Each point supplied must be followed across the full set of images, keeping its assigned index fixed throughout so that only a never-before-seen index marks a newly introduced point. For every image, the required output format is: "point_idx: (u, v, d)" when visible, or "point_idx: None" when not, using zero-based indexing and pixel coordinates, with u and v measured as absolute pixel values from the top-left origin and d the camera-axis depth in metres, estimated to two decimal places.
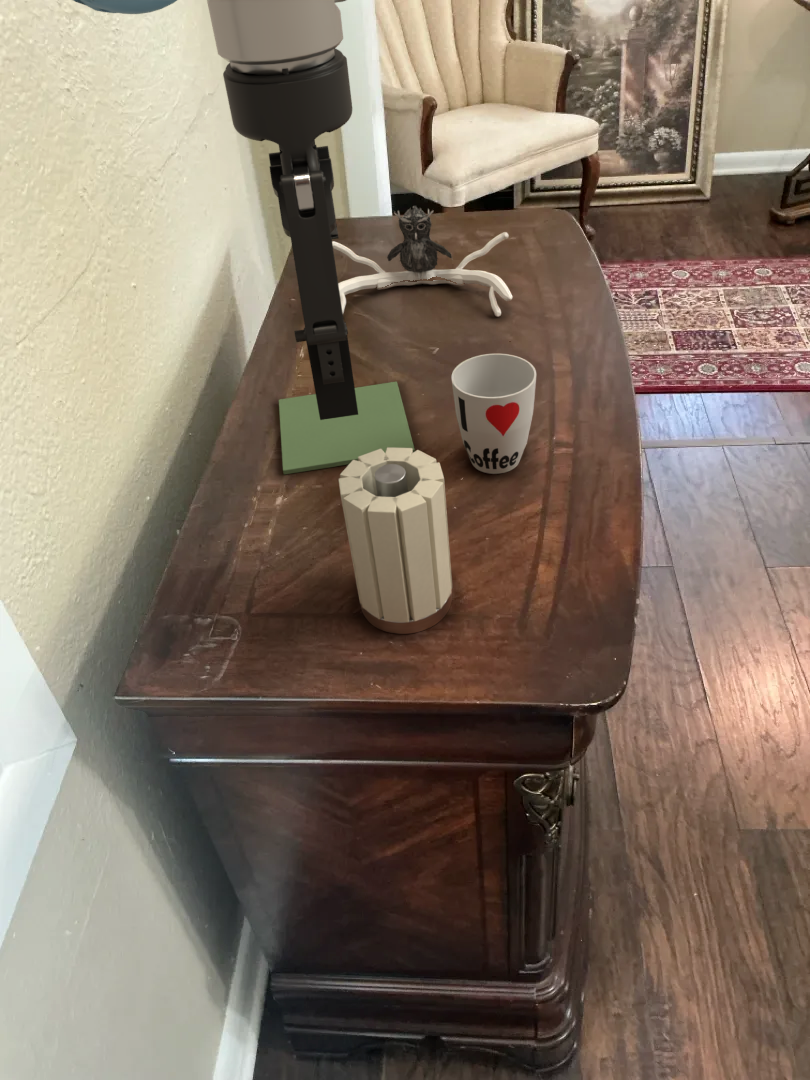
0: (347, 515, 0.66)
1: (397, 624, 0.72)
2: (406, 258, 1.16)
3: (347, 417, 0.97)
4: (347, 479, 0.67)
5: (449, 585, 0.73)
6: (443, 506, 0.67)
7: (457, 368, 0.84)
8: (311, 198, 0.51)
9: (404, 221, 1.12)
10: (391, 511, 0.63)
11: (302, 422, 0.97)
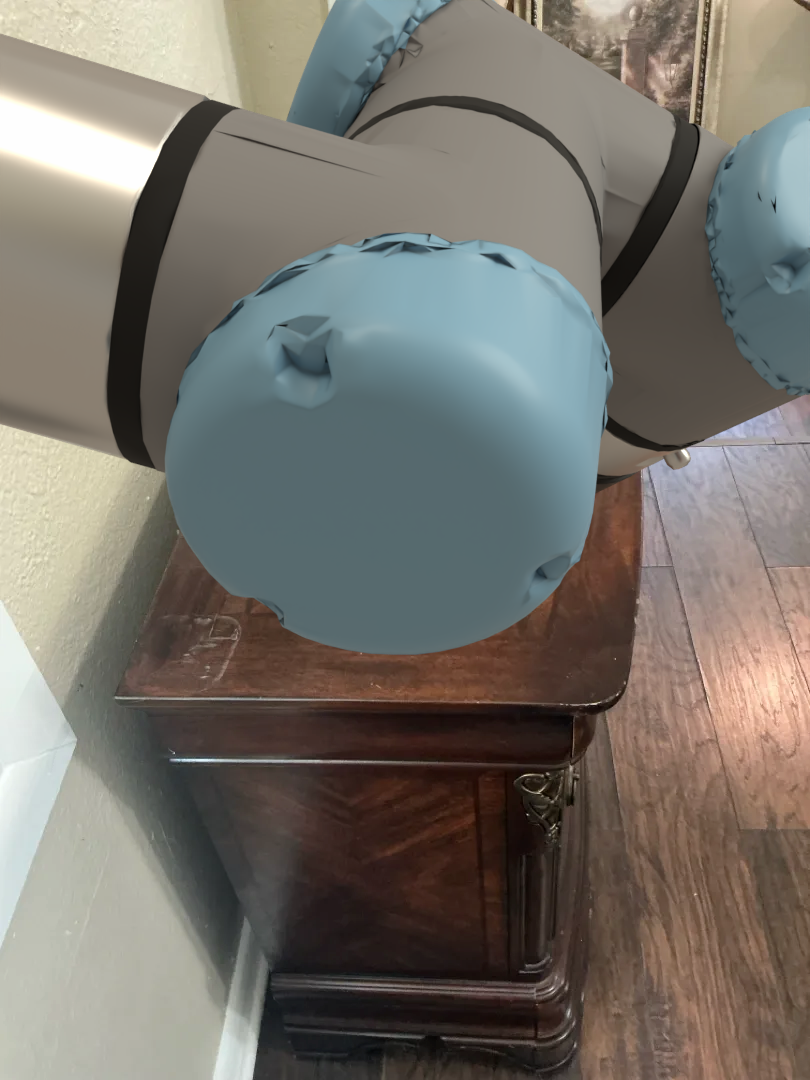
0: None
1: None
2: None
3: None
4: None
5: None
6: None
7: None
8: None
9: None
10: None
11: None
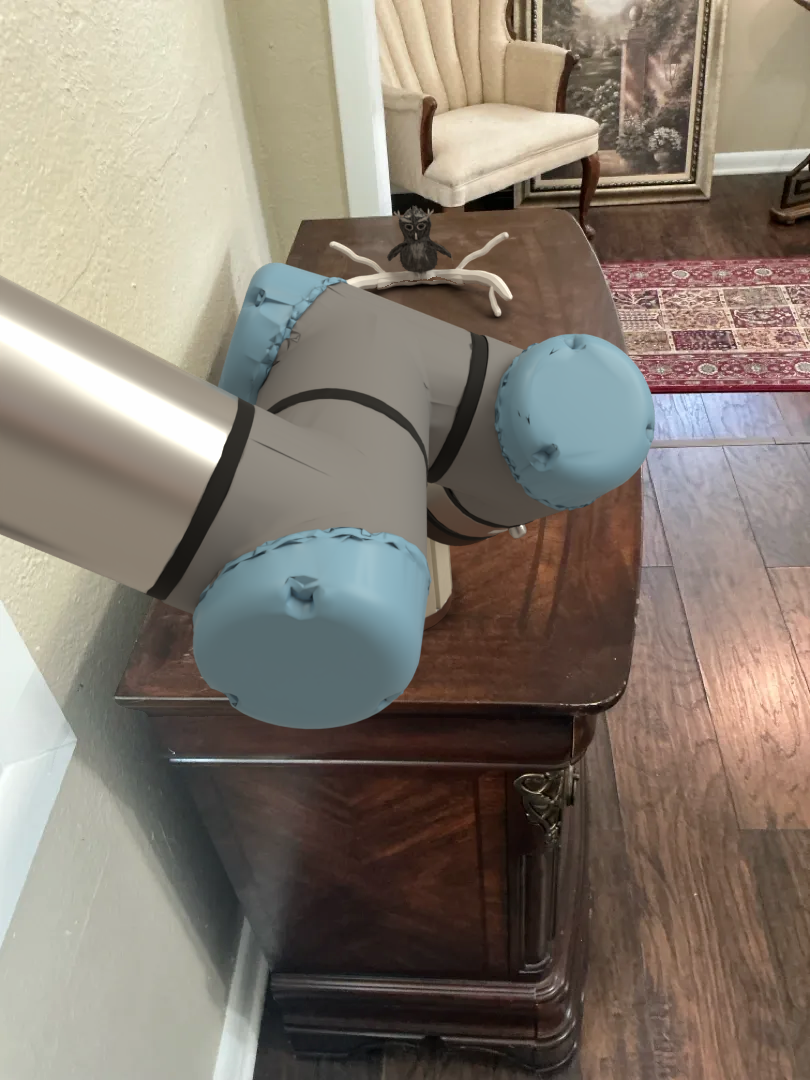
0: None
1: None
2: (406, 258, 1.16)
3: None
4: None
5: (449, 585, 0.73)
6: None
7: None
8: None
9: (404, 221, 1.12)
10: None
11: None
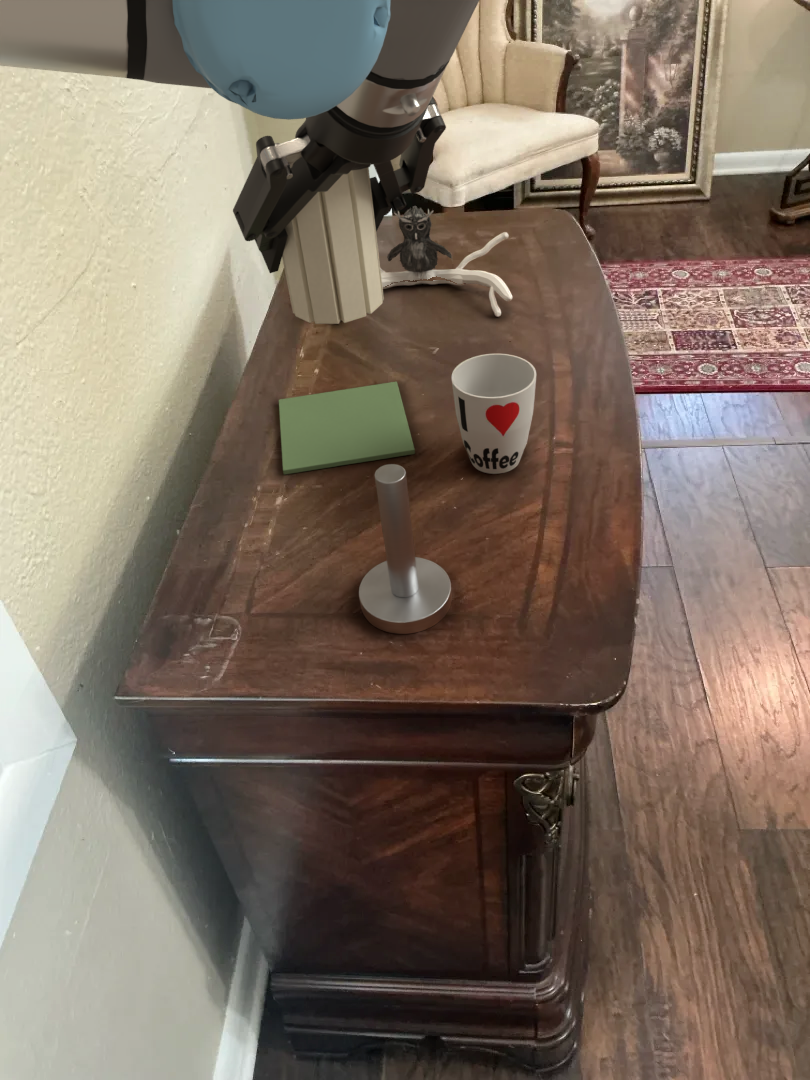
0: None
1: (397, 624, 0.72)
2: (406, 258, 1.16)
3: (347, 417, 0.97)
4: None
5: (379, 292, 0.74)
6: (367, 190, 0.68)
7: (457, 368, 0.84)
8: (265, 170, 0.59)
9: (404, 221, 1.12)
10: None
11: (302, 422, 0.97)
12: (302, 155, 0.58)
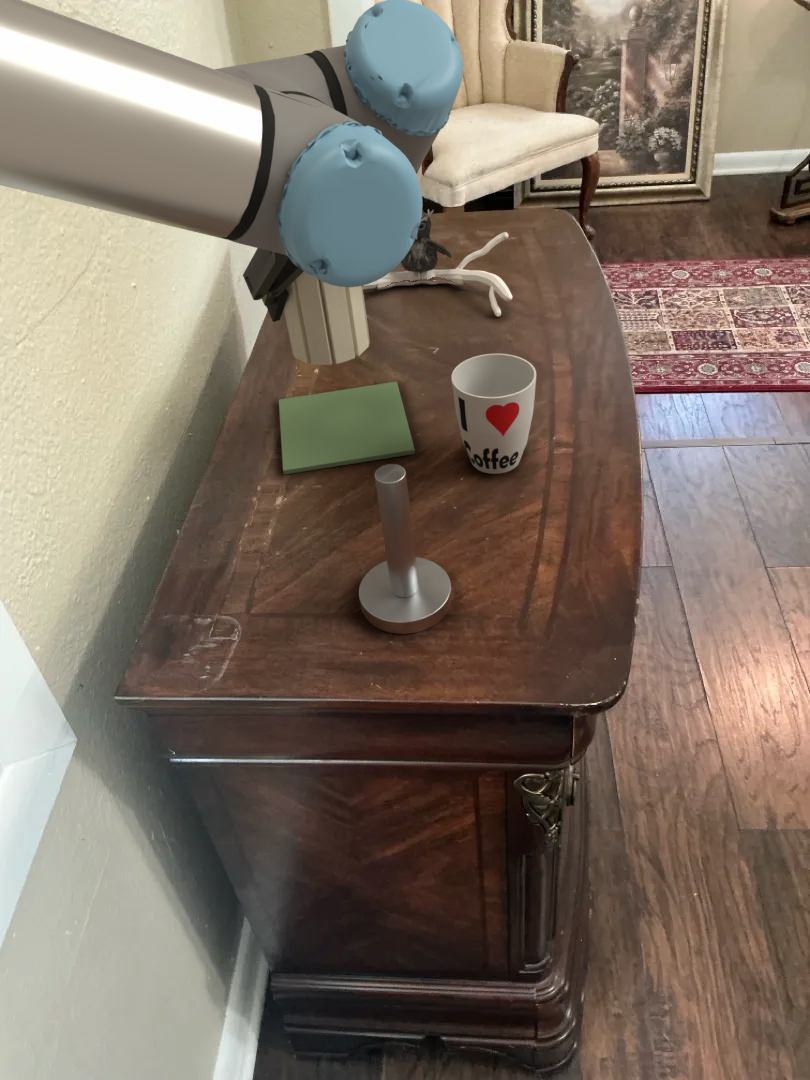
0: None
1: (397, 624, 0.72)
2: (406, 258, 1.16)
3: (347, 417, 0.97)
4: None
5: (366, 337, 0.87)
6: None
7: (457, 368, 0.84)
8: None
9: None
10: None
11: (302, 422, 0.97)
12: None
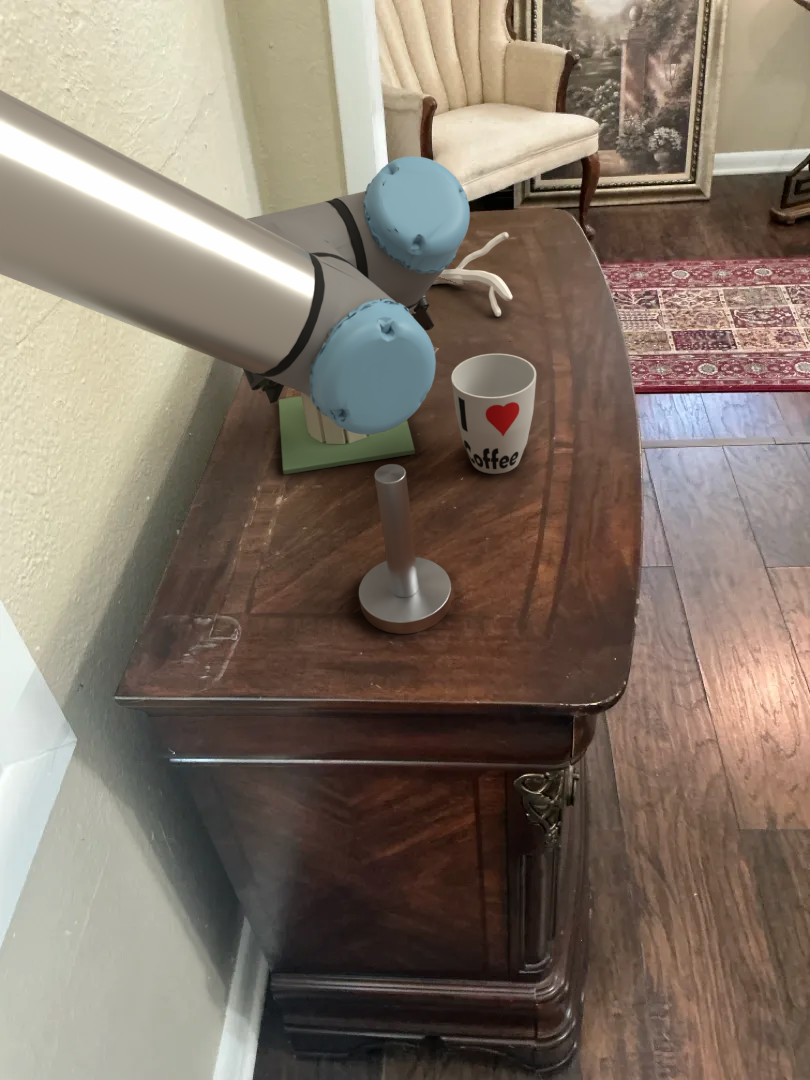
0: None
1: (397, 624, 0.72)
2: None
3: None
4: None
5: None
6: None
7: (457, 368, 0.84)
8: None
9: None
10: None
11: (302, 422, 0.97)
12: None
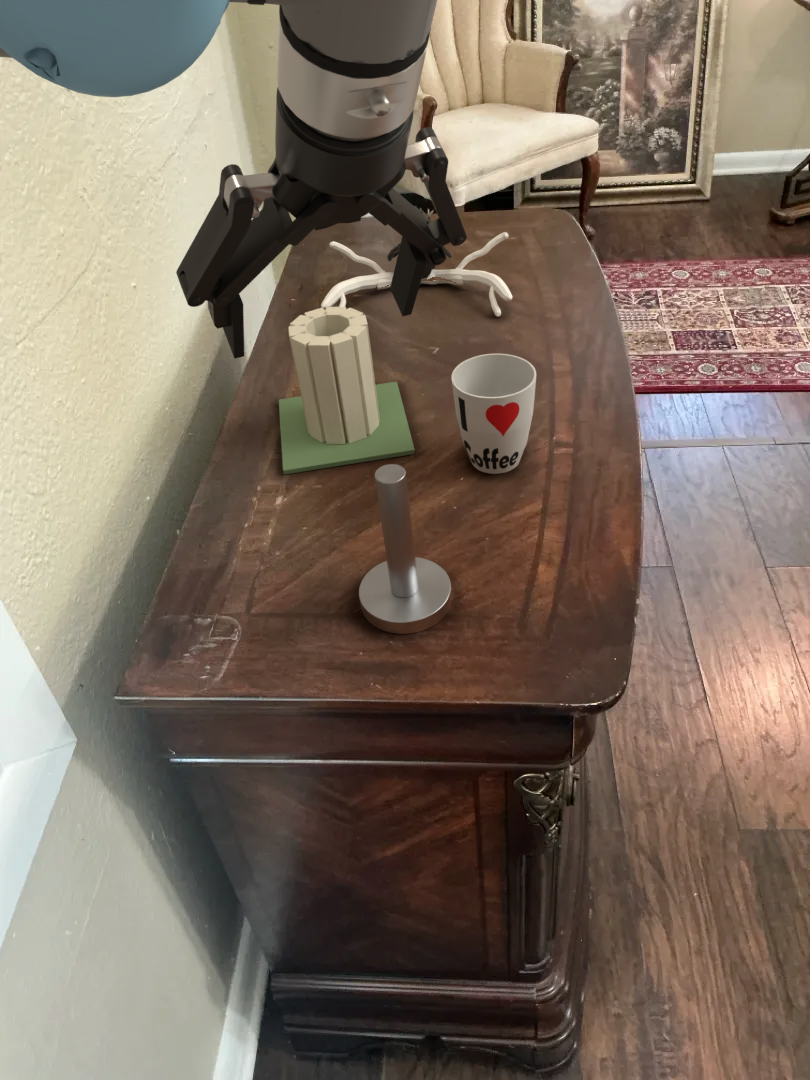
0: (294, 352, 0.87)
1: (397, 624, 0.72)
2: None
3: None
4: (295, 326, 0.88)
5: (377, 417, 0.94)
6: (367, 347, 0.88)
7: (457, 368, 0.84)
8: (228, 203, 0.50)
9: None
10: (326, 344, 0.85)
11: (302, 422, 0.97)
12: (274, 192, 0.50)
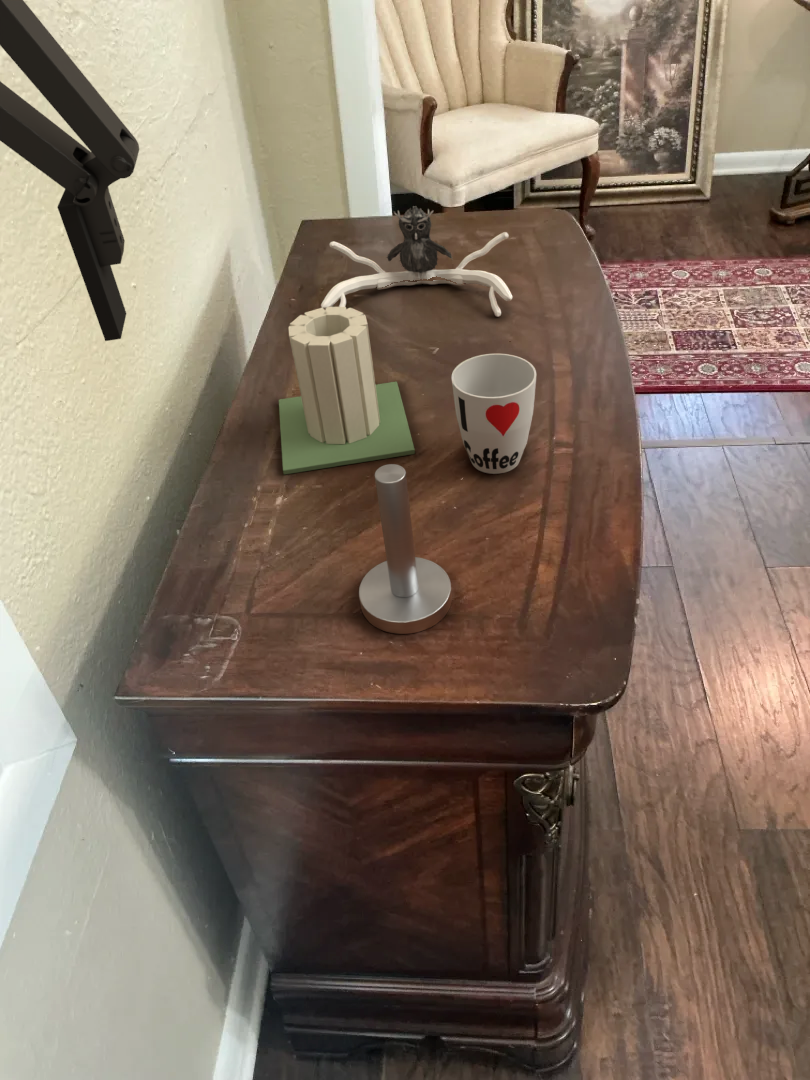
0: (294, 352, 0.87)
1: (397, 624, 0.72)
2: (406, 258, 1.16)
3: None
4: (295, 326, 0.88)
5: (377, 417, 0.94)
6: (367, 347, 0.88)
7: (457, 368, 0.84)
8: None
9: (404, 221, 1.12)
10: (326, 344, 0.85)
11: (302, 422, 0.97)
12: None
